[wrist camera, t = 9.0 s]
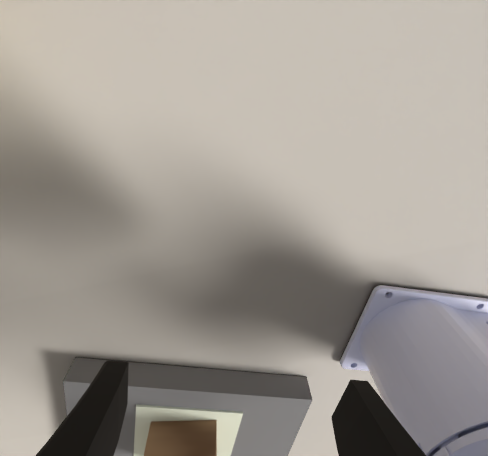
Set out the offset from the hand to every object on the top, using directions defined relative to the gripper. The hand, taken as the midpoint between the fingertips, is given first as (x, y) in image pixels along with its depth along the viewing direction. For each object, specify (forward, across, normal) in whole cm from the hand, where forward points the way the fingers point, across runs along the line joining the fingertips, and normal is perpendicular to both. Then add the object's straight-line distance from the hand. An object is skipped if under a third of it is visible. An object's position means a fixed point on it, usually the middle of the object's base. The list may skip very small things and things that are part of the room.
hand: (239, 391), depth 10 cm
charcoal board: (+10, +1, +18) cm, 21 cm away
